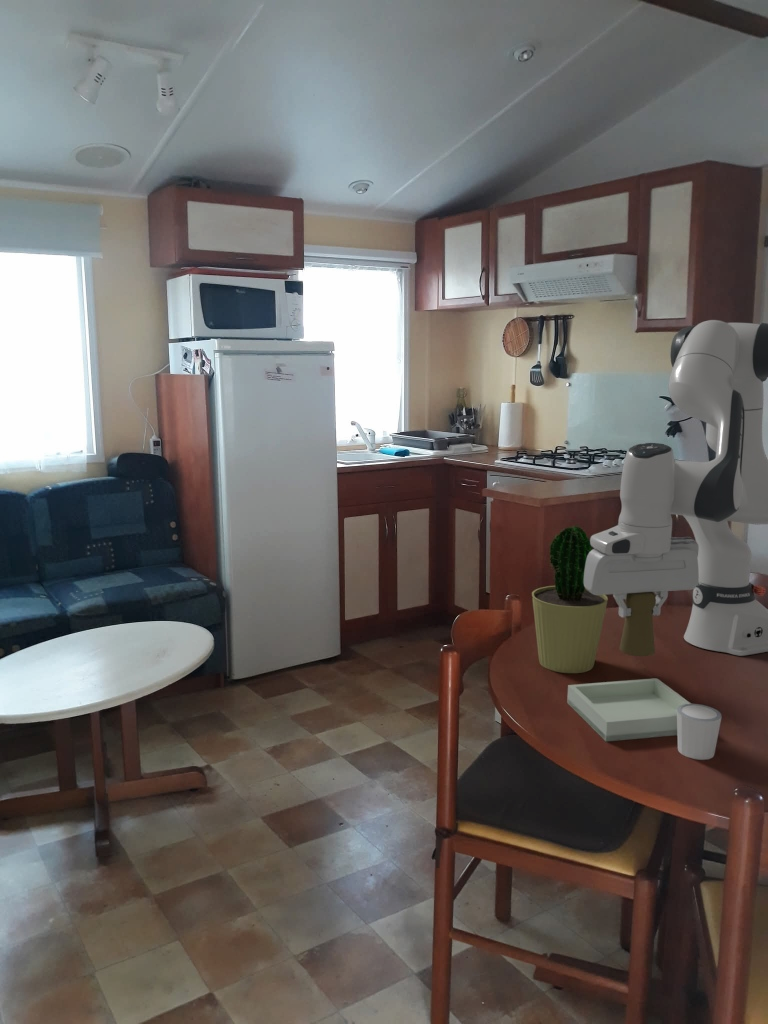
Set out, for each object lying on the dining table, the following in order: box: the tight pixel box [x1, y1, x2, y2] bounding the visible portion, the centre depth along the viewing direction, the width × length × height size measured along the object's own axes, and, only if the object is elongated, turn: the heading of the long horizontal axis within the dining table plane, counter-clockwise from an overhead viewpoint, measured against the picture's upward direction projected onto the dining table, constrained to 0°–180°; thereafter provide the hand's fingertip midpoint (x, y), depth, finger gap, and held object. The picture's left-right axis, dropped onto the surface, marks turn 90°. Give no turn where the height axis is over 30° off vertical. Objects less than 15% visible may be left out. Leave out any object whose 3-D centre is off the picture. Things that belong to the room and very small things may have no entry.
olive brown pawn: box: [619, 592, 656, 657], centre depth 146 cm, size 6×6×11 cm
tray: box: [566, 677, 692, 743], centre depth 149 cm, size 18×16×4 cm
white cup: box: [676, 703, 722, 761], centre depth 136 cm, size 7×7×7 cm
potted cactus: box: [531, 524, 609, 674], centre depth 173 cm, size 15×15×30 cm
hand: (639, 615), depth 146 cm, fingers closed on olive brown pawn, 4 cm apart
